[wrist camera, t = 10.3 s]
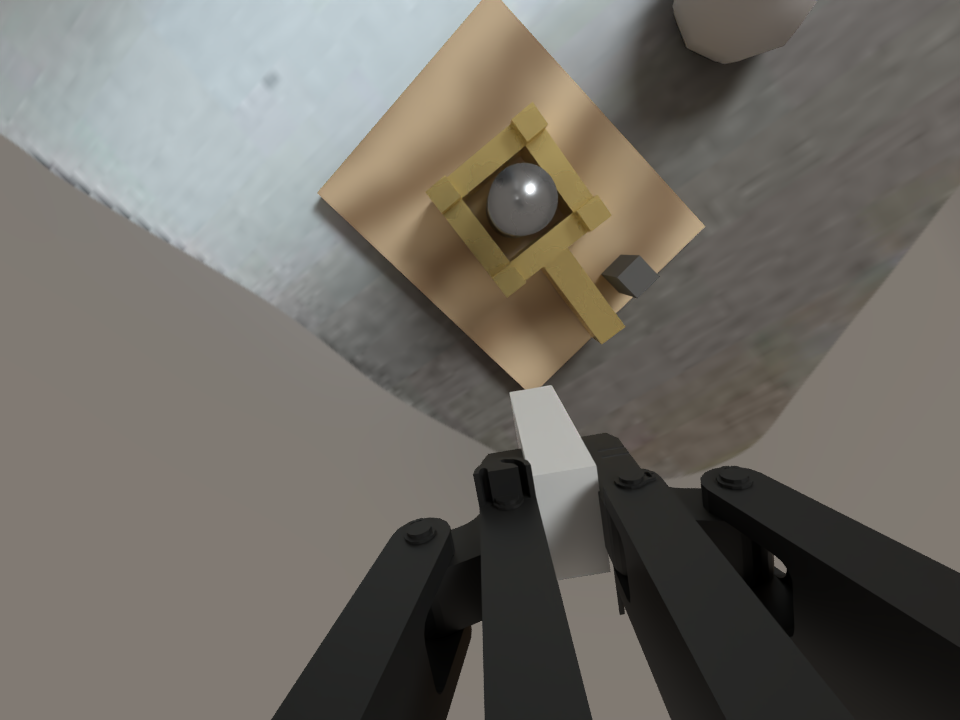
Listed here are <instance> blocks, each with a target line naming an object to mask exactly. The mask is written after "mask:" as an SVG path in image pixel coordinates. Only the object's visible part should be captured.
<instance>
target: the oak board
mask: <svg viewBox="0 0 960 720" xmlns="http://www.w3.org/2000/svg"><path fill="white" fill-rule="evenodd" d="M531 102H533V103H534V105H535V106H536V107H537V109H538V110H539V112H540V113H541V115H542V116H543V117H544V119H545V120H546V122H547V123H548V125H547V127H546V130H547V132H548V133H549V134H550V136H551V137H552V139H553V140H554V142H555V143H556V144H557V146H558V147H559V149H560V150H561V152H562V153H563V154H564V156H565V157H566V159H567V160H568V161H569V163H570V164H571V166H572V167H573V169H574V170H575V171H576V173H577V174H578V176H579V177H580V179H581V180H582V181H583V183H584V184H585V186H586V187H587V189H588V190H589V191H590V193H591V194H592V196H595V195H598V196H599V197H600V199H601V200H602V202H603V203H604V205H605V206H606V207H607V209H608V210H609V212H610V213H611V215H612V216H611V217H609V218H608V219H607V220H606V221H604V222H603V223H602V224H601V225H599V226H598V227H597V228H595V229H594V230H593V231H592V232H587V233H586V234H584V235H583V236H582V237H581V238H579V239H578V240H577V241H575V242H574V243H573V244H572V245H570V246H569V247H568V249H569V250H570V252H571V253H572V254H573V256H574V257H575V258H576V260H577V261H578V263H579V264H580V265H581V267H582V268H583V269H584V271H585V272H586V273H587V275H588V276H589V278H590V279H591V280H592V282H593V283H594V284H595V286H596V287H597V289H598V290H599V291H600V293H601V294H602V295H603V297H604V298H605V300H606V301H607V302H608V304H609V305H610V306H611V308H612V309H613V311H614V312H615V313H617V312H618V311H619V310H620V309H621V308H622V307H623V306H624V305H625V304H626V303H627V302H628V301H629V300H630V299H631V298H632V297H631V296H628V295H625V294H622V293H619V292H618V291H617V290H616V289H615V288H614V287H613V286H612V285H611V284H610V283H609V282H608V281H607V280H606V279H605V278H604V277H603V276H602V275H601V274H602V273H603V272H604V271H605V270H606V269H607V268H608V267H609V266H610V265H611V264H612V263H613V262H614V261H615V260H616V259H617V258H618V257H619V256H620V255H640V256H641V257H642V258H643V259H644V260H645V261H646V263H647V264H648V265H649V266H650V267H651V268H652V269H653V270H654V271H655V272H656V273H658V272H659V271H660V270H661V269H662V268H663V267H664V266H665V265H666V264H667V263H668V262H669V261H670V260H671V259H672V258H673V257H674V256H675V255H676V254H677V253H678V252H679V251H680V250H681V249H683V248H684V247H685V246H686V245H687V244H688V243H689V242H690V241H691V240H692V239H693V238H694V237H695V236H696V235H697V234H698V233H699V232H700V231H701V230H702V229H703V228H704V227H705V226H704V225H703V224H702V222H701V221H700V220H699V219H698V218H697V217H696V216H695V215H694V214H693V213H692V211H691V210H690V209H689V208H688V207H687V206H686V205H685V204H684V203H683V201H682V200H681V199H680V198H679V197H678V196H677V195H676V194H675V193H674V191H673V190H672V189H671V188H670V187H669V186H668V185H667V184H666V183H665V181H664V180H663V179H662V178H661V177H660V176H659V175H658V174H657V173H656V171H655V170H654V169H653V168H652V167H651V166H650V165H649V164H648V163H647V161H646V160H645V159H644V158H643V157H642V156H641V155H640V154H639V153H638V151H637V150H636V149H635V148H634V147H633V146H632V145H631V144H630V143H629V142H628V140H627V139H626V138H625V137H624V136H623V135H622V134H621V133H620V132H619V130H618V129H617V128H616V127H615V126H614V125H613V124H612V123H611V122H610V120H609V119H608V118H607V117H606V116H605V115H604V114H603V113H602V112H601V110H600V109H599V108H598V107H597V106H596V105H595V104H594V103H593V102H592V100H591V99H590V98H589V97H588V96H587V95H586V94H585V93H584V92H583V90H582V89H581V88H580V87H579V86H578V85H577V84H576V83H575V82H574V81H573V79H572V78H571V77H570V76H569V75H568V74H567V73H566V72H565V71H564V69H563V68H562V67H561V66H560V65H559V64H558V63H557V62H556V61H555V59H554V58H553V57H552V56H551V55H550V54H549V53H548V52H547V51H546V49H545V48H544V47H543V46H542V45H541V44H540V43H539V42H538V41H537V39H536V38H535V37H534V36H533V35H532V34H531V33H530V32H529V31H528V29H527V28H526V27H525V26H524V25H523V24H522V23H521V22H520V21H519V19H518V18H517V17H516V16H515V15H514V14H513V13H512V12H511V11H510V10H509V8H508V7H507V6H506V5H505V4H504V3H503V2H502V1H501V0H482V1H481V2H480V3H479V4H478V5H477V7H476V8H475V9H474V10H473V11H472V12H471V14H470V15H469V16H468V17H467V18H466V19H465V21H464V22H463V23H462V24H461V25H460V26H459V28H458V29H457V30H456V31H455V32H454V33H453V35H452V36H451V37H450V38H449V39H448V41H447V42H446V43H445V44H444V45H443V46H442V48H441V49H440V50H439V51H438V52H437V53H436V55H435V56H434V57H433V58H432V59H431V60H430V62H429V63H428V64H427V65H426V66H425V67H424V69H423V70H422V71H421V72H420V73H419V74H418V76H417V77H416V78H415V79H414V80H413V81H412V83H411V84H410V85H409V86H408V87H407V88H406V90H405V91H404V92H403V93H402V94H401V95H400V97H399V98H398V99H397V100H396V101H395V103H394V104H393V105H392V106H391V107H390V108H389V110H388V111H387V112H386V113H385V114H384V115H383V117H382V118H381V119H380V120H379V121H378V122H377V124H376V125H375V126H374V127H373V128H372V129H371V131H370V132H369V133H368V134H367V135H366V136H365V138H364V139H363V140H362V141H361V142H360V143H359V145H358V146H357V147H356V148H355V149H354V150H353V152H352V153H351V154H350V155H349V156H348V157H347V159H346V160H345V161H344V162H343V163H342V165H341V166H340V167H339V168H338V169H337V170H336V172H335V173H334V174H333V175H332V176H331V177H330V179H329V180H328V181H327V182H326V183H325V184H324V186H323V187H322V188H321V189H320V190H319V191H318V194H319V195H320V196H321V197H322V198H323V199H324V200H325V201H326V202H327V203H328V204H329V205H330V206H331V207H332V208H334V209H335V210H336V211H337V212H338V213H339V214H340V215H341V216H342V217H343V218H344V219H345V220H346V221H347V222H348V223H349V224H350V225H352V226H353V227H354V228H355V229H356V230H357V231H358V232H359V233H360V234H361V235H362V236H363V237H364V238H365V239H366V240H367V241H368V242H370V243H371V244H372V245H373V246H374V247H375V248H376V249H377V250H378V251H379V252H380V253H381V254H382V255H383V256H384V257H385V258H386V259H387V260H389V261H390V262H391V263H392V264H393V265H394V266H395V267H396V268H397V269H398V270H399V271H400V272H401V273H402V274H403V275H404V276H405V277H407V278H408V279H409V280H410V281H411V282H412V283H413V284H414V285H415V286H416V287H417V288H418V289H419V290H420V291H421V292H422V293H423V294H425V295H426V296H427V297H428V298H429V299H430V300H431V301H432V302H433V303H434V304H435V305H436V306H437V307H438V308H439V309H440V310H441V311H443V312H444V313H445V314H446V315H447V316H448V317H449V318H450V319H451V320H452V321H453V322H454V323H455V324H456V325H457V326H458V327H459V328H460V329H462V330H463V331H464V332H465V333H466V334H467V335H468V336H469V337H470V338H471V339H472V340H473V341H474V342H475V343H476V344H477V345H478V346H480V347H481V348H482V349H483V350H484V351H485V352H486V353H487V354H488V355H489V356H490V357H491V358H492V359H493V360H494V361H495V362H496V363H498V364H499V365H500V366H501V367H502V368H503V369H504V370H505V371H506V372H507V373H508V374H509V375H510V376H511V377H512V378H513V379H514V380H516V381H517V382H518V383H519V384H520V385H521V386H522V387H523V388H524V389H525V390H526V389H531V388H537V387H541V386H542V385H543V384H544V383H545V382H546V381H547V380H548V379H549V378H550V377H551V376H552V375H553V374H554V373H555V372H556V371H557V370H558V369H560V368H561V367H562V366H563V365H564V364H565V363H566V362H567V361H568V360H569V359H570V358H571V357H572V356H573V355H574V354H575V353H576V352H577V351H578V350H579V349H580V348H581V347H582V346H583V345H584V344H585V343H586V342H587V341H588V340H589V339H590V338H591V336H590V334H589V333H588V332H587V330H586V329H585V328H584V326H583V325H582V324H581V322H580V321H579V320H578V318H577V317H576V316H575V314H574V313H573V312H572V310H571V309H570V308H569V306H568V305H567V304H566V302H565V301H564V300H563V298H562V297H561V296H560V294H559V293H558V292H557V290H556V289H555V288H554V286H553V285H552V284H551V282H550V281H549V280H548V278H547V277H546V276H545V274H544V273H543V272H542V270H541V269H540V270H539V271H537V272H536V273H535V274H533V275H532V276H531V277H530V278H528V279H527V280H526V283H525V284H524V285H523V286H521V287H520V288H519V289H518V290H516V291H515V292H514V293H513V294H511V295H510V296H509V297H506V296H505V295H504V293H503V292H502V291H501V289H500V288H499V287H498V286H497V284H496V283H495V282H494V280H493V279H492V278H491V276H490V275H489V274H488V272H487V271H486V270H485V269H484V267H483V266H482V265H481V263H480V262H479V261H478V259H477V258H476V257H475V256H474V254H473V253H472V252H471V250H470V249H469V248H468V247H467V245H466V244H465V243H464V241H463V240H462V239H461V237H460V236H459V235H458V234H457V232H456V231H455V230H454V228H453V227H452V226H451V225H450V223H449V222H448V221H447V219H446V218H445V217H444V216H443V214H442V213H441V212H440V211H439V209H438V208H437V207H436V205H435V204H434V203H433V202H432V200H431V199H430V198H429V196H428V195H427V194H426V193H425V192H426V191H427V190H428V189H429V188H430V187H432V186H433V185H434V184H435V183H436V182H438V181H439V180H440V179H441V178H442V177H444V176H446V177H448V176H449V175H450V174H451V173H453V172H454V171H455V170H456V169H457V168H459V167H460V166H461V165H462V164H463V163H464V162H466V161H467V160H468V159H469V158H470V157H472V156H473V155H474V154H475V153H476V152H478V151H479V150H480V149H481V148H482V147H484V146H485V145H486V144H487V143H488V142H489V141H491V140H492V139H493V138H494V137H495V136H497V135H498V134H499V133H500V132H501V131H503V130H504V129H505V128H506V127H507V126H509V125H510V123H511V119H512V118H514V117H515V116H516V115H517V114H518V113H520V112H521V111H522V110H523V109H524V108H526V107H527V106H528V105H529V104H530V103H531ZM517 163H525V162H524V160H523V159H522V157H521V156H520V157H518V158H517V159H516V160H515V161H513V162H512V163H511V164H510V165H509V166H511V165H513V164H517ZM509 166H507V167H509ZM507 167H506V168H507ZM496 177H497V176H495V177H494V178H493V179H492V180H490V181H489V182H488V183H487V184H486V185H484V186H483V187H482V188H481V189H480V190H478V191H477V192H476V193H475V194H474V195H472V196H471V197H470V198H469V199H468V200H466V201H465V204H466V205H467V206H468V207H469V209H470V210H471V211H472V213H473V214H474V215H475V217H476V218H477V219H478V221H479V222H480V223H481V225H482V226H483V227H484V229H485V230H486V231H487V232H488V234H489V235H490V236H491V238H492V239H493V240H494V242H495V243H496V244H497V246H498V247H499V248H500V250H501V251H502V252H503V254H504V255H505V256H506V257H507V259H508V260H509V259H510V258H511V257H513V256H514V255H515V254H516V253H518V252H519V251H520V250H521V249H523V248H524V247H525V246H526V245H528V244H529V243H530V242H531V241H533V240H534V239H535V238H536V237H538V236H539V235H540V234H542V233H543V232H544V231H545V230H547V229H548V228H549V227H550V226H552V225H553V224H554V223H555V222H557V221H558V220H559V219H560V218H562V217H563V214H562V213H561V211H560V210H559V209H558V207H557V209H556V212H555V214H554V216H553V218H552V220H551V221H550V222H549V223H548V225H547V226H545V227H544V228H543V229H542V230H540V231H538V232H536V233H534V234H530V235H527V236H523V237H518V238H507V237H504V236H501V235H499V234H498V233H497V232H495V231H494V230H493V229H492V227H491V226H490V224H489V222H488V220H487V216H486V203H487V199H488V195H489V191H490V188H491V185H492V183H493V181H494V179H495V178H496Z"/></svg>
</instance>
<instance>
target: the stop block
mask: <svg viewBox="0 0 960 720" xmlns="http://www.w3.org/2000/svg"><path fill="white" fill-rule="evenodd" d="M601 275H602V276H603V277H604V278H605V279H606V280H607V281H608V282H609V283H610V284H611V285H612V286H613V287H614V288H615V289H616V290H617V291H618V292H619V293H622V294H625V295H628V296H631V297H635V298H638V297H639V296H640V295H641V294H642V293H643V292H645V291H646V290H647V289H648V288H649V287H650V286H651V285H652V284H653V283H654V282H655V281H656V280H657V279H658V278H659V277H660V276H659V275H658V274H657V273H656V272H655V271H654V270H653V269H652V268H651V267H650V266H649V265H648V264H647V263H646V261H645V260H644V259H643V258H642V257H641V256H640V255H620V256H619V257H618V258H617V259H616V260H615V261H614V262H613V263H612V264H611V265H610V266H609V267H608V268H607V269H606V270H605V271H604V272H603V273H602V274H601Z"/></svg>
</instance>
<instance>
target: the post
mask: <svg viewBox="0 0 960 720" xmlns="http://www.w3.org/2000/svg"><path fill="white" fill-rule="evenodd" d="M557 204H558V193H557V188H556V185H555V183H554V181H553V179H552V178H551V176H550V175H549V174H548V173H547V172H546V171H545V170H544V169H542V168H541V167H539V166H537V165H534V164H530V163H517V164H513V165H511V166H509V167H507V168H505V169H504V170H502V171H501V172H500V173H499V174H498V175H497V177H496V178H495V179H494V181H493V183H492V185H491V188H490V191H489V195H488V199H487V203H486V216H487V220H488V222H489V224H490V226H491V227H492V229H493V230H494V231H495V232H497V233H498V234H499V235H501V236H504V237H507V238H518V237H523V236H527V235H530V234H534V233H536V232H538V231H540V230H542V229H543V228H544V227H545V226H547V225H548V223H549V222H550V221H551V220H552V218H553V216H554V214H555V212H556V209H557Z"/></svg>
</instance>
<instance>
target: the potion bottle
mask: <svg viewBox="0 0 960 720" xmlns="http://www.w3.org/2000/svg"><path fill="white" fill-rule="evenodd" d="M817 1H818V0H674V3H673V6H672V7H673V9H674V13H673V15H674V18H675V20H676V23H677V26H678V28H679V31H680V33H681V36H682V39H683V41H684V44H685V46H686V48H687V49H689V50H691V51H693V52H695V53H697V54H700V55H702V56H704V57H706V58H708V59H710V60H712V61H714V62H720V63H722V64H727V63H732V62H737V61H740V60H743V59H746V58H749V57H752V56H755V55H758V54H761V53H764V52H767V51H770V50H773V49H776V48H779V47H782V46H784V45H785V44H786V43H787V41H788V40H789V39H790V38H791V36H792V35H793V34H794V33H795V31H796V30H797V29H798V28H799V26H800V25H801V24H802V22H803V21H804V19H805V18H806V16H807V15H808V14H809V12H810V11H811V9H812V8H813V6H814V5H815V3H816V2H817Z"/></svg>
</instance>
